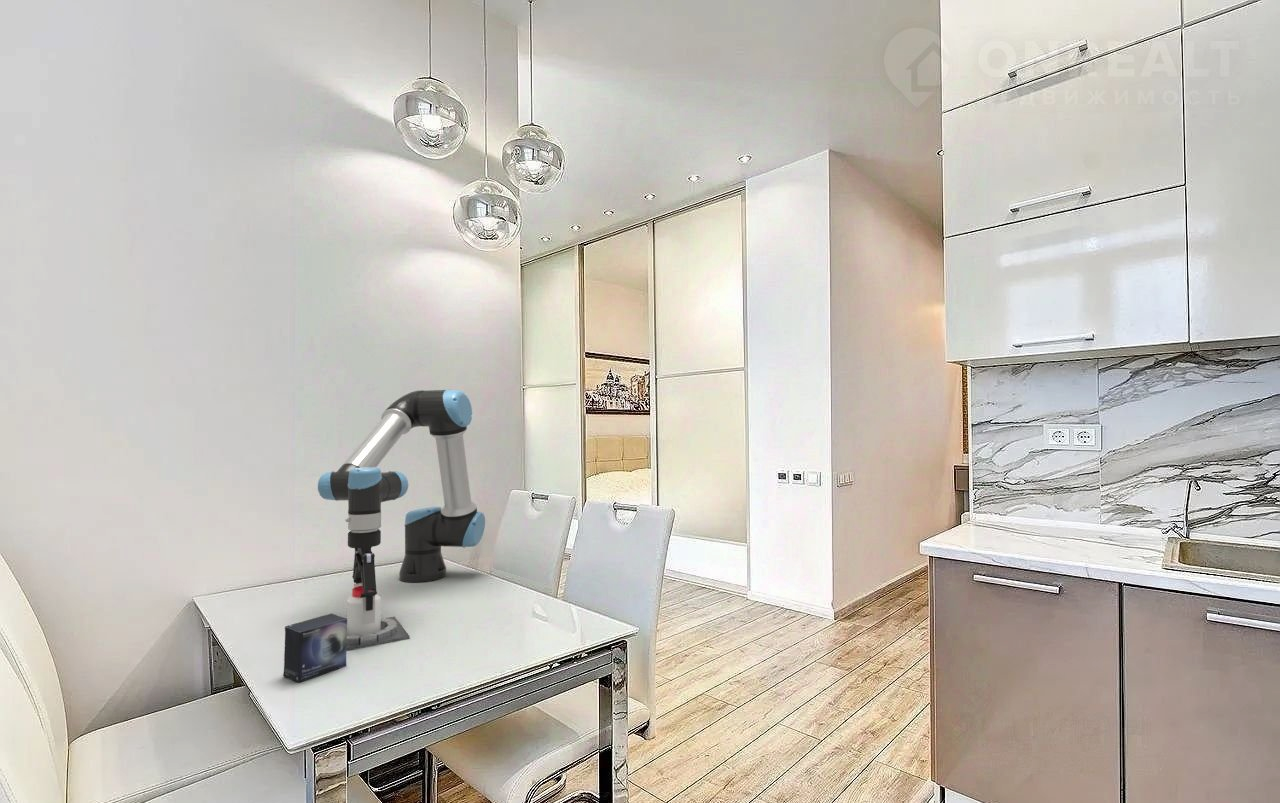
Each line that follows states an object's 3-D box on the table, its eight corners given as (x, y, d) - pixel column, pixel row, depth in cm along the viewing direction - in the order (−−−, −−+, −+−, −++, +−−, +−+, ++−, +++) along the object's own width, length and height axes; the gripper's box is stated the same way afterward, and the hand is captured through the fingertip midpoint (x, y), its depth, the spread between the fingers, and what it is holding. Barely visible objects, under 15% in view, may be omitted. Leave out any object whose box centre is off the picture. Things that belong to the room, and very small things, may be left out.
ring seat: (394, 618, 163) (394, 611, 163) (409, 638, 148) (409, 631, 148) (319, 631, 153) (319, 624, 153) (327, 654, 138) (327, 646, 138)
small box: (299, 684, 123) (299, 631, 123) (282, 677, 126) (282, 626, 127) (348, 666, 132) (348, 617, 132) (331, 659, 135) (331, 612, 136)
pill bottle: (339, 635, 148) (339, 590, 149) (364, 625, 156) (364, 582, 156) (363, 639, 146) (363, 593, 146) (387, 629, 153) (387, 585, 153)
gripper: (341, 524, 160) (340, 605, 159) (355, 539, 139) (354, 633, 138) (372, 521, 164) (371, 600, 163) (390, 536, 143) (389, 627, 142)
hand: (363, 615), depth 151 cm, fingers open, 13 cm apart
